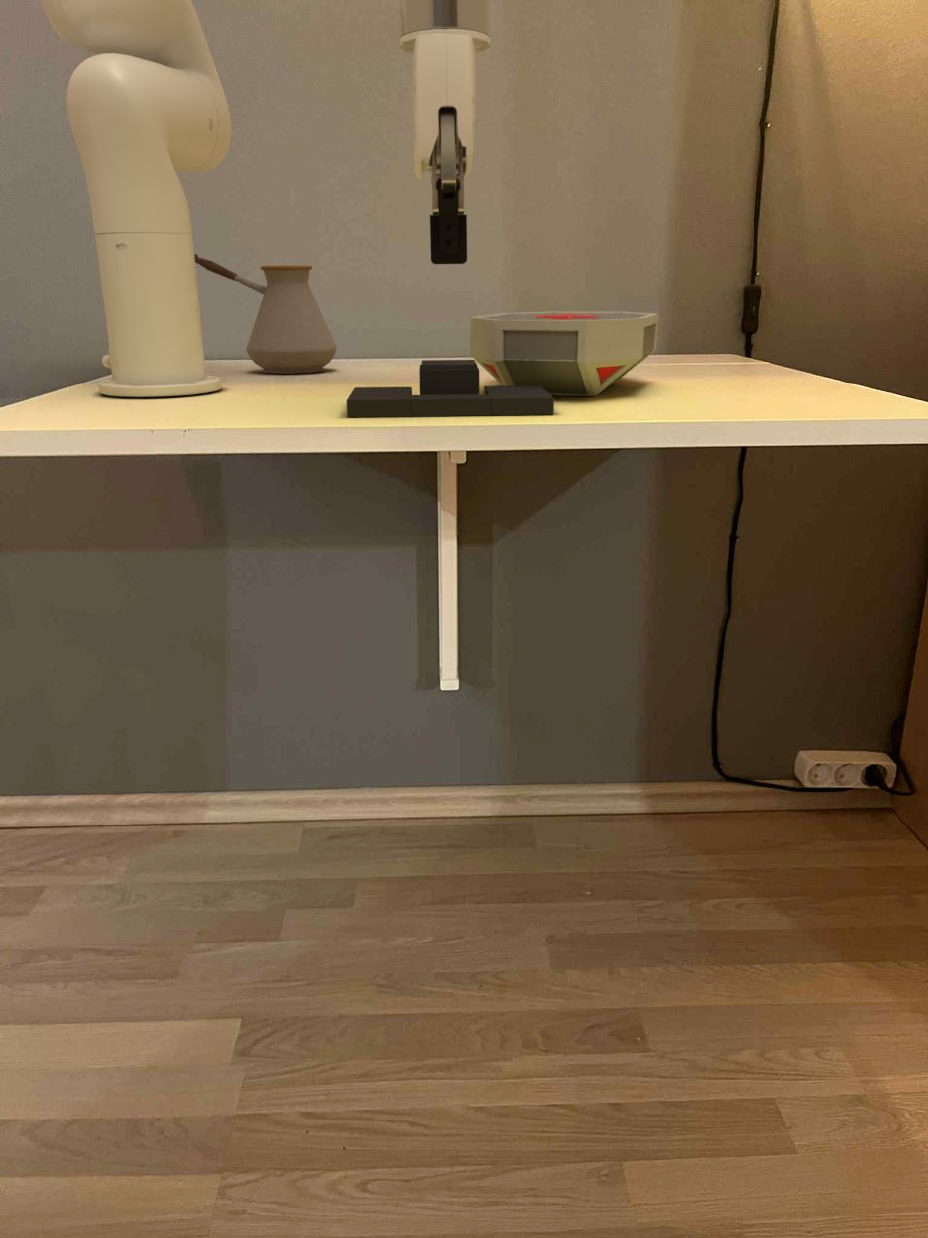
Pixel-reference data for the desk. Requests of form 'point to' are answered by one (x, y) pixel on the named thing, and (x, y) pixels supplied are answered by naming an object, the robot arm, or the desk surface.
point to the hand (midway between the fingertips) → (448, 263)
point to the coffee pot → (285, 321)
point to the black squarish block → (449, 377)
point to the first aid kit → (562, 348)
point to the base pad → (449, 402)
